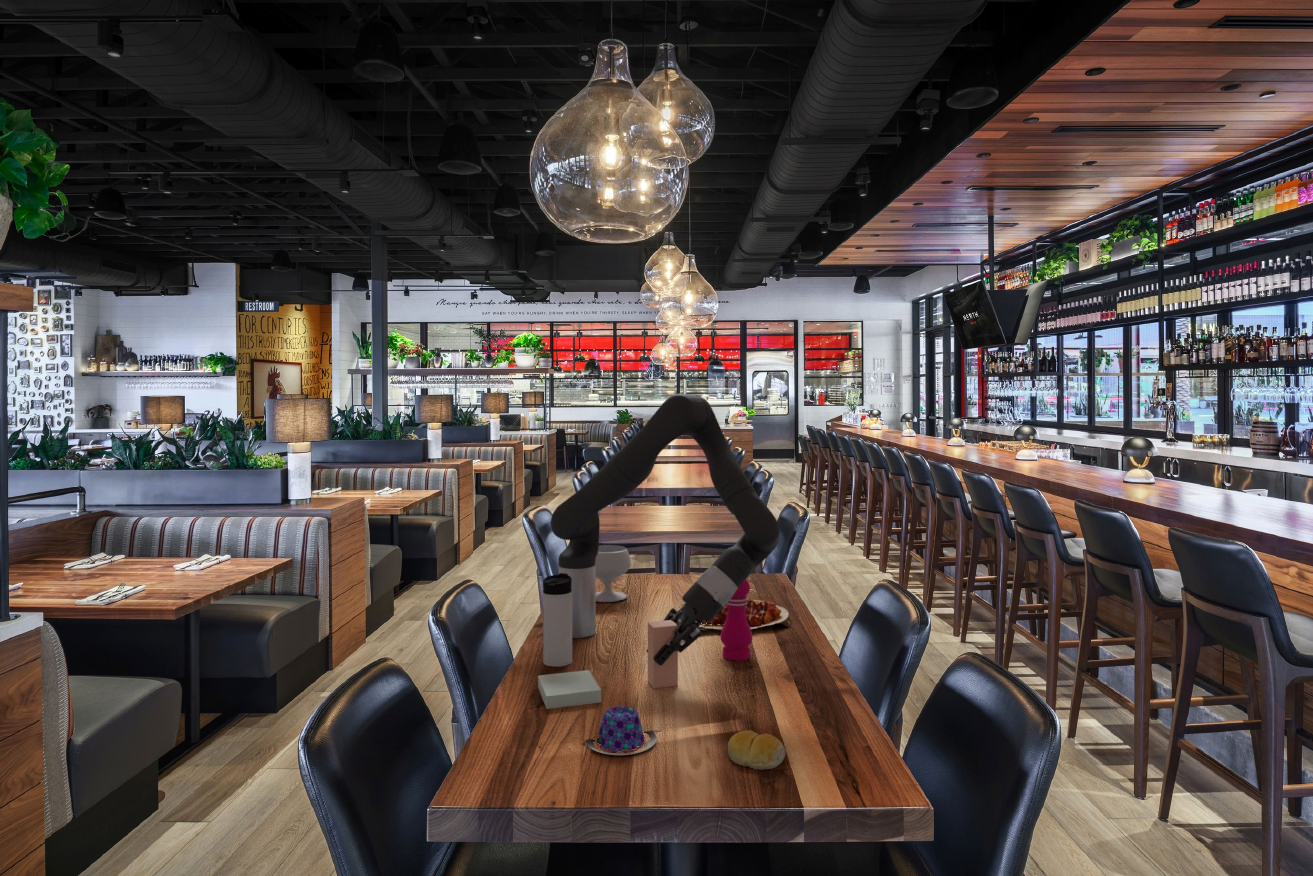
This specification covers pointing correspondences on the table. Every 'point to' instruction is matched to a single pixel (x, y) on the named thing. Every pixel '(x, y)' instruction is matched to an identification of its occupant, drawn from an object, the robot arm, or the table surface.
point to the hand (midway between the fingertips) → (653, 658)
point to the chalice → (611, 570)
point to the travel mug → (557, 620)
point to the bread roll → (756, 750)
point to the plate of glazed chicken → (754, 615)
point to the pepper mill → (737, 626)
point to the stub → (656, 640)
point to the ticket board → (569, 689)
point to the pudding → (621, 731)
